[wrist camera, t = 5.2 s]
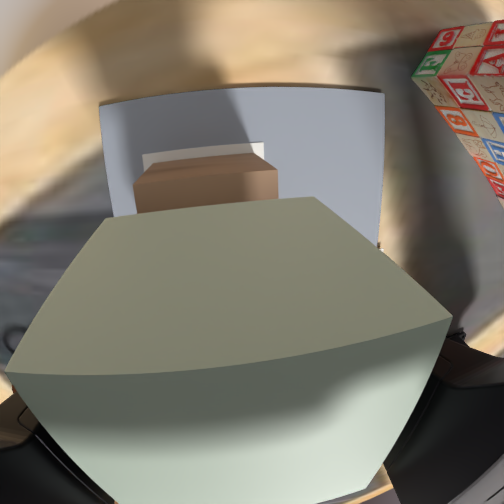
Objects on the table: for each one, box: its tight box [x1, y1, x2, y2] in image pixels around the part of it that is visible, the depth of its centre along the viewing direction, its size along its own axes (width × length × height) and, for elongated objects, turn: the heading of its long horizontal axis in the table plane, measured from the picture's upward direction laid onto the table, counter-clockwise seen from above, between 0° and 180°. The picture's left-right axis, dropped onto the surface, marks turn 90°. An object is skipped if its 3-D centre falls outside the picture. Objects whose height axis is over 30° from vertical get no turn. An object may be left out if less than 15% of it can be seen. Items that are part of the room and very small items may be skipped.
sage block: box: [4, 196, 453, 504], centre depth 7 cm, size 6×6×6 cm
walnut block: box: [133, 153, 279, 214], centre depth 16 cm, size 6×6×6 cm
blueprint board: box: [99, 87, 385, 252], centre depth 21 cm, size 20×19×1 cm
